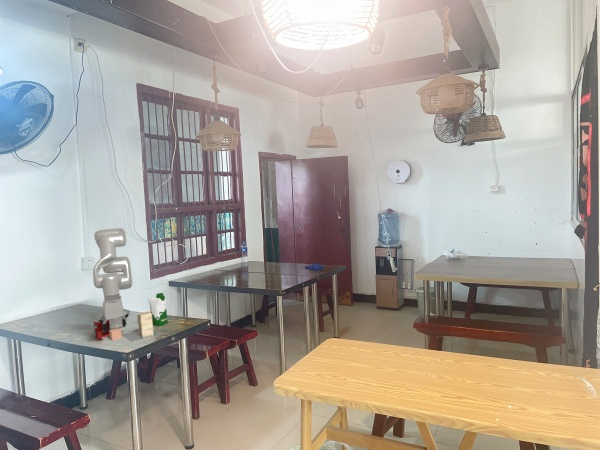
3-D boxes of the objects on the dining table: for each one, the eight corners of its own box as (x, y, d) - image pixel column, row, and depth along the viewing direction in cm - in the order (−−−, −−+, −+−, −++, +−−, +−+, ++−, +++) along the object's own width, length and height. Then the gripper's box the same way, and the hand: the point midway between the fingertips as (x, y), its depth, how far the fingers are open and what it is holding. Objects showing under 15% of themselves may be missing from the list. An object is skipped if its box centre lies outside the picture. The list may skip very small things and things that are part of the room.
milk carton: (161, 329, 255) (158, 295, 254) (148, 328, 258) (145, 295, 257) (170, 324, 263) (167, 292, 262) (158, 324, 266) (155, 291, 265)
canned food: (98, 336, 248) (96, 317, 248) (112, 335, 249) (111, 316, 248) (93, 341, 241) (91, 321, 240) (108, 339, 241) (106, 320, 241)
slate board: (121, 337, 244) (121, 334, 244) (149, 330, 254) (149, 327, 254) (131, 344, 230) (131, 341, 230) (161, 336, 240) (160, 334, 240)
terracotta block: (110, 340, 239) (109, 330, 239) (119, 338, 242) (118, 328, 242) (112, 342, 235) (111, 332, 235) (122, 340, 238) (121, 329, 238)
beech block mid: (138, 324, 241) (137, 313, 241) (148, 321, 245) (147, 311, 244) (141, 326, 236) (140, 315, 236) (152, 323, 240) (151, 313, 240)
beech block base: (139, 334, 241) (138, 324, 241) (149, 332, 245) (148, 321, 245) (142, 337, 237) (141, 326, 236) (153, 334, 240) (152, 323, 240)
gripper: (126, 294, 245) (129, 324, 246) (93, 300, 235) (96, 331, 235) (130, 295, 239) (133, 326, 240) (96, 301, 229) (99, 333, 229)
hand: (115, 328), depth 237 cm, fingers open, 9 cm apart
